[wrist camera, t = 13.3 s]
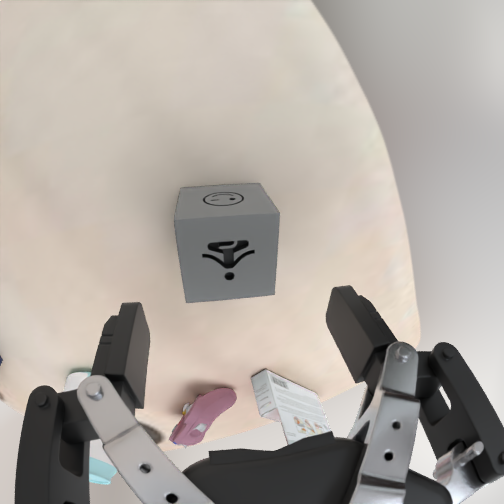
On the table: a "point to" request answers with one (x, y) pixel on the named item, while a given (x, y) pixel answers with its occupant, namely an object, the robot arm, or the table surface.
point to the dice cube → (226, 242)
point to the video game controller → (201, 416)
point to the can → (93, 442)
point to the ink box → (289, 406)
